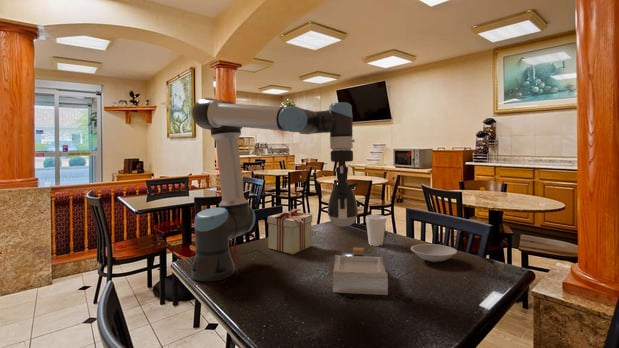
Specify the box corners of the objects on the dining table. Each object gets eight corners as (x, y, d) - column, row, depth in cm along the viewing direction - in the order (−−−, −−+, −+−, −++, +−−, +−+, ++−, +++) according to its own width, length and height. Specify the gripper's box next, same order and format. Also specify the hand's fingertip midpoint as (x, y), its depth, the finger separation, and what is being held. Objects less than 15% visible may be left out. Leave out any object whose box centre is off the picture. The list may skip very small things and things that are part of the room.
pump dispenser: (357, 228, 102) (357, 181, 101) (326, 228, 104) (324, 182, 103) (359, 221, 112) (358, 178, 111) (330, 221, 114) (329, 179, 113)
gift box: (300, 256, 134) (300, 216, 133) (266, 249, 143) (265, 212, 142) (319, 245, 149) (319, 209, 147) (287, 240, 158) (286, 206, 156)
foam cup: (362, 242, 153) (362, 215, 152) (379, 240, 156) (379, 214, 155) (371, 248, 144) (371, 220, 143) (389, 245, 147) (389, 218, 146)
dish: (416, 268, 120) (416, 255, 119) (406, 255, 134) (406, 243, 134) (463, 268, 119) (464, 255, 119) (448, 255, 134) (448, 243, 133)
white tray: (332, 292, 100) (332, 267, 100) (336, 265, 123) (336, 245, 122) (387, 295, 98) (388, 270, 98) (380, 267, 121) (380, 246, 120)
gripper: (353, 149, 94) (354, 222, 96) (352, 149, 117) (353, 208, 118) (328, 150, 95) (330, 222, 97) (332, 150, 118) (333, 209, 119)
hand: (343, 215), depth 108 cm, fingers closed on pump dispenser, 10 cm apart
